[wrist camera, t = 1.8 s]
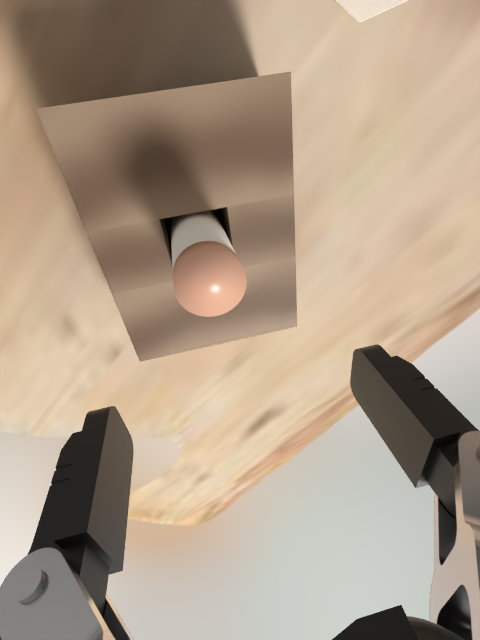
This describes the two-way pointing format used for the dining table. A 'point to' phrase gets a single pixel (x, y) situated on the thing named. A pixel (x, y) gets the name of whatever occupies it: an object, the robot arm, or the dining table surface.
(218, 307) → the plug
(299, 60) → the dining table surface
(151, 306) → the socket block
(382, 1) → the jar
